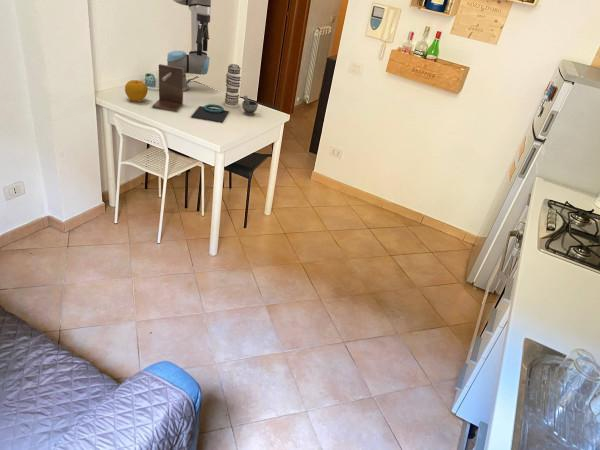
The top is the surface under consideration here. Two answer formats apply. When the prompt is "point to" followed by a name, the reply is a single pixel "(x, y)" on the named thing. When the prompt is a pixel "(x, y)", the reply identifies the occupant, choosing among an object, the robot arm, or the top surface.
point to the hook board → (170, 88)
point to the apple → (136, 90)
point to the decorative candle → (232, 85)
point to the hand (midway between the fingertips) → (202, 53)
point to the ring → (213, 110)
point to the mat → (209, 115)
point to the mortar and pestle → (249, 106)
